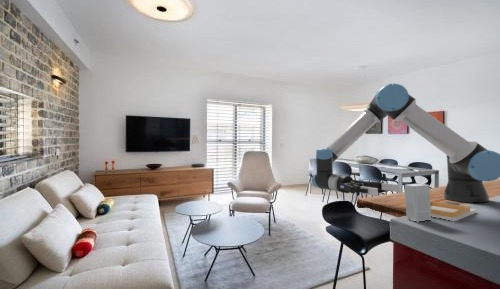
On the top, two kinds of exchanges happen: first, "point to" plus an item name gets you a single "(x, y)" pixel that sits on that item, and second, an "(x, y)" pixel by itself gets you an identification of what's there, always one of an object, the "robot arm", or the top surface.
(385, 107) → the robot arm
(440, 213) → the shallow wooden tray
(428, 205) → the skincare box
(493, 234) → the top surface
